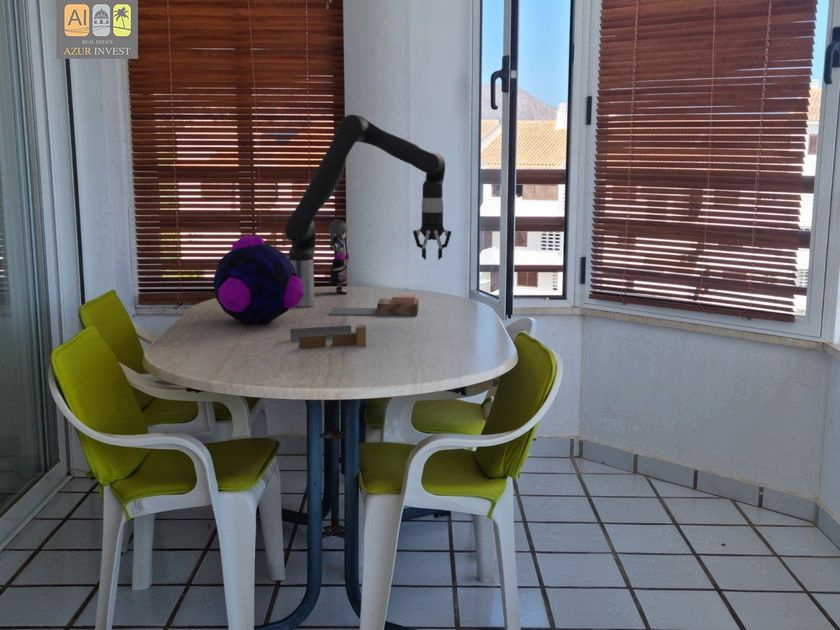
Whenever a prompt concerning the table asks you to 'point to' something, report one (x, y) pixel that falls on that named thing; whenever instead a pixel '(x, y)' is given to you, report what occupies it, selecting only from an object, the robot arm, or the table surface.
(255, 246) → the sculpture
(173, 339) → the table surface
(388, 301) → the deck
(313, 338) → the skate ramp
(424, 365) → the table surface
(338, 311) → the mat
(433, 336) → the table surface
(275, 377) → the table surface
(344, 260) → the figurine
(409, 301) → the salmon pink rectangular block
